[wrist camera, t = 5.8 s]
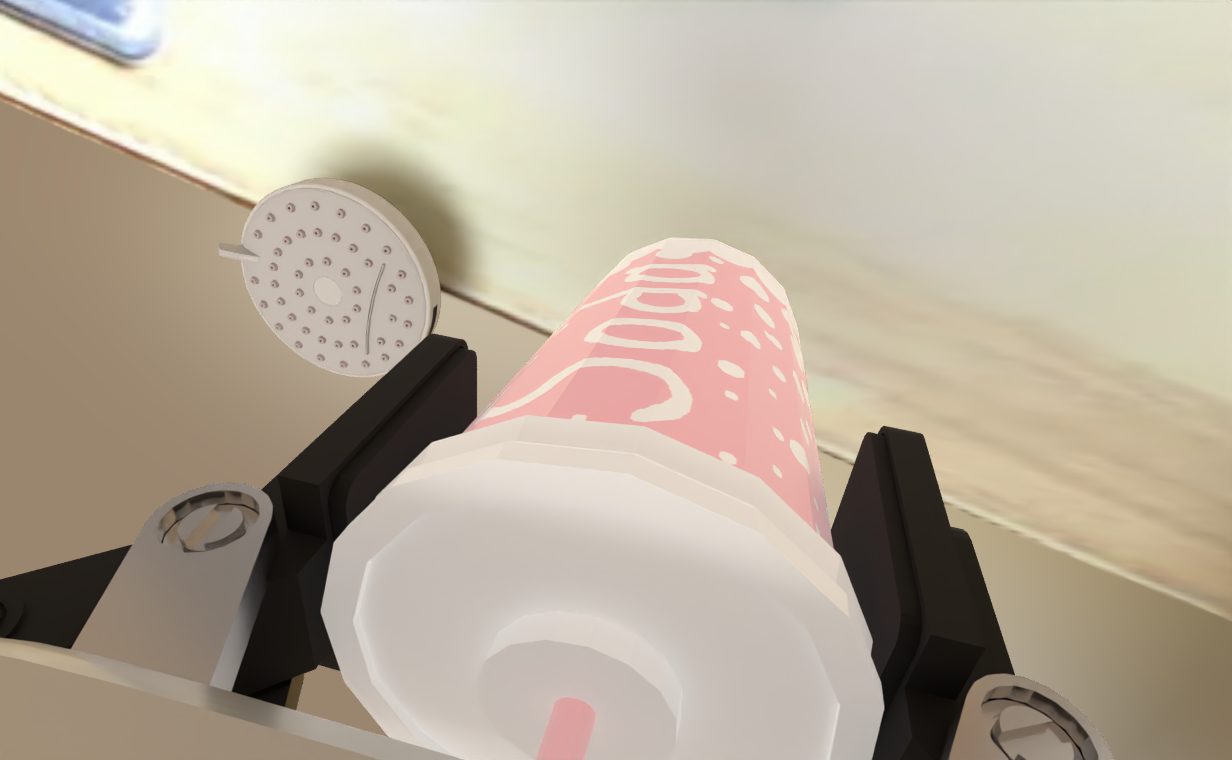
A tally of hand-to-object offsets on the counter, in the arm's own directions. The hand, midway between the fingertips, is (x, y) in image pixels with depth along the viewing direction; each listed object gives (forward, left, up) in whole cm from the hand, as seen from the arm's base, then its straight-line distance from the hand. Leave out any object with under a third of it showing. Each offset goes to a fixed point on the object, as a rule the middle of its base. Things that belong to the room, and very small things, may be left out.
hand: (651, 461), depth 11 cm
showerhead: (+17, +7, -23) cm, 30 cm away
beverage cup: (0, 0, -5) cm, 5 cm away
